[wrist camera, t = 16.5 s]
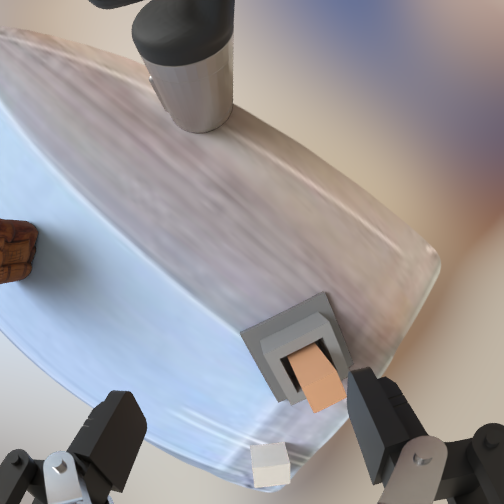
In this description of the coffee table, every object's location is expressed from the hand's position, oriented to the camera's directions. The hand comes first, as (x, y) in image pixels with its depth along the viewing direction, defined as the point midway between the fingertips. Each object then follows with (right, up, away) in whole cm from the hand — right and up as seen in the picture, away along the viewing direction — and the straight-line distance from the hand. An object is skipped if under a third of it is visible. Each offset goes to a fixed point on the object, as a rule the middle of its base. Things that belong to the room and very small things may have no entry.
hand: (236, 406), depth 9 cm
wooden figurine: (-38, +5, +27) cm, 47 cm away
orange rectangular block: (+7, -9, +29) cm, 32 cm away
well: (+8, -9, +30) cm, 33 cm away
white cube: (+3, -31, +32) cm, 44 cm away
